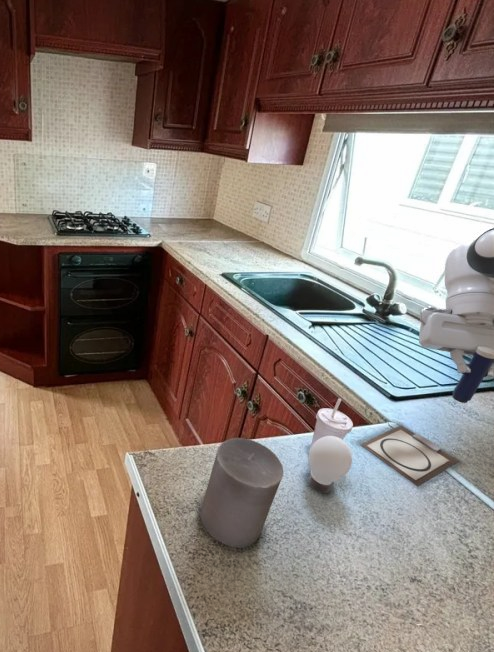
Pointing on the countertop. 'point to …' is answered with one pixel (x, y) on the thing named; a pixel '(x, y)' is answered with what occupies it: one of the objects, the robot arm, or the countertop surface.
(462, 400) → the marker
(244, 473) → the pillar candle
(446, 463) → the clipboard
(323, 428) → the smoothie
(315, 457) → the light bulb
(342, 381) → the countertop surface
